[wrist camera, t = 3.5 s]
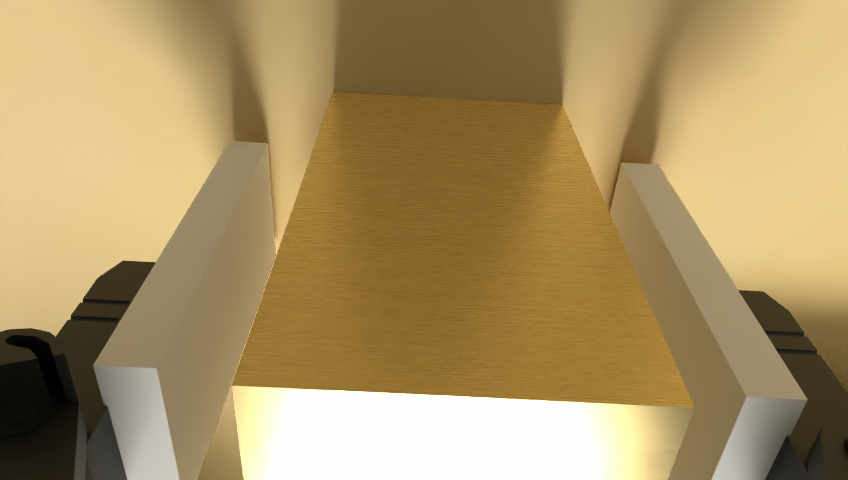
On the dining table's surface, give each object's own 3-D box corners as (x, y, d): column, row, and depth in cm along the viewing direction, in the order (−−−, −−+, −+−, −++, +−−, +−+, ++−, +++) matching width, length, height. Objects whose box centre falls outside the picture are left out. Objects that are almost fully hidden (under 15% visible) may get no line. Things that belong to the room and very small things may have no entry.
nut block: (333, 91, 13) (231, 386, 7) (562, 105, 13) (695, 408, 7) (336, 279, 16) (263, 634, 9) (530, 289, 16) (603, 648, 9)
